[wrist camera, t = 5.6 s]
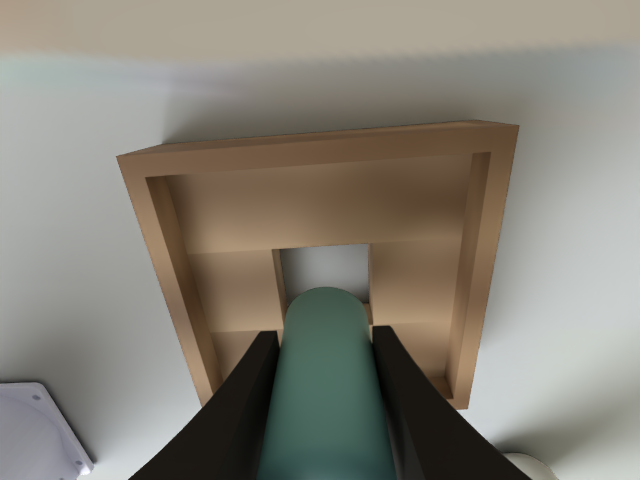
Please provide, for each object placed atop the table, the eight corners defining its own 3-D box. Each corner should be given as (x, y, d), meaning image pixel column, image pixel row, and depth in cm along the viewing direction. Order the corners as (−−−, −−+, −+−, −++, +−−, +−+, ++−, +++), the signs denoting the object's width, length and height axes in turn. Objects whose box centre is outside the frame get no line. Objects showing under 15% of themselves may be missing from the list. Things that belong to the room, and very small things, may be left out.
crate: (445, 361, 19) (467, 409, 16) (223, 371, 20) (205, 418, 17) (476, 119, 13) (519, 125, 10) (159, 144, 14) (115, 156, 11)
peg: (366, 351, 13) (393, 524, 8) (289, 352, 14) (264, 524, 8) (368, 286, 12) (403, 444, 7) (281, 288, 12) (246, 444, 7)
